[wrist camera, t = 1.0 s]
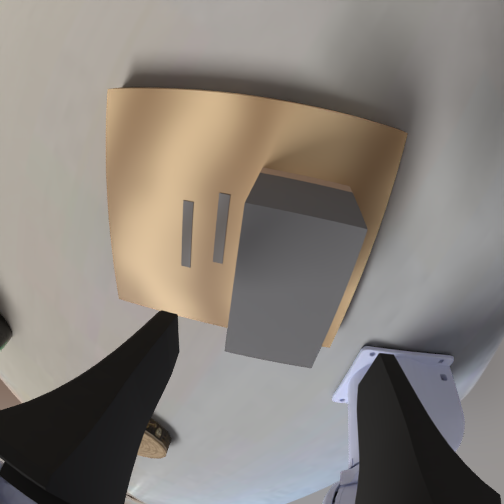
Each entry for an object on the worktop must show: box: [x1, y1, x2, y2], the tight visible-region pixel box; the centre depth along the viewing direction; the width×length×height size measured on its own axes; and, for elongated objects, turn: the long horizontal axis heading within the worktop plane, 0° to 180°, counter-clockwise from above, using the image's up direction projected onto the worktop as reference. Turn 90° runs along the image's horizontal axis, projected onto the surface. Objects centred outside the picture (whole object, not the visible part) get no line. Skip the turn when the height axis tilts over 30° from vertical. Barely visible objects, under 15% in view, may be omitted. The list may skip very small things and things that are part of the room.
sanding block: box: [225, 167, 368, 368], centre depth 15 cm, size 4×8×5 cm, turn 172°
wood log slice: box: [137, 418, 171, 458], centre depth 38 cm, size 16×16×3 cm
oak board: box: [106, 87, 408, 348], centre depth 18 cm, size 16×15×2 cm
